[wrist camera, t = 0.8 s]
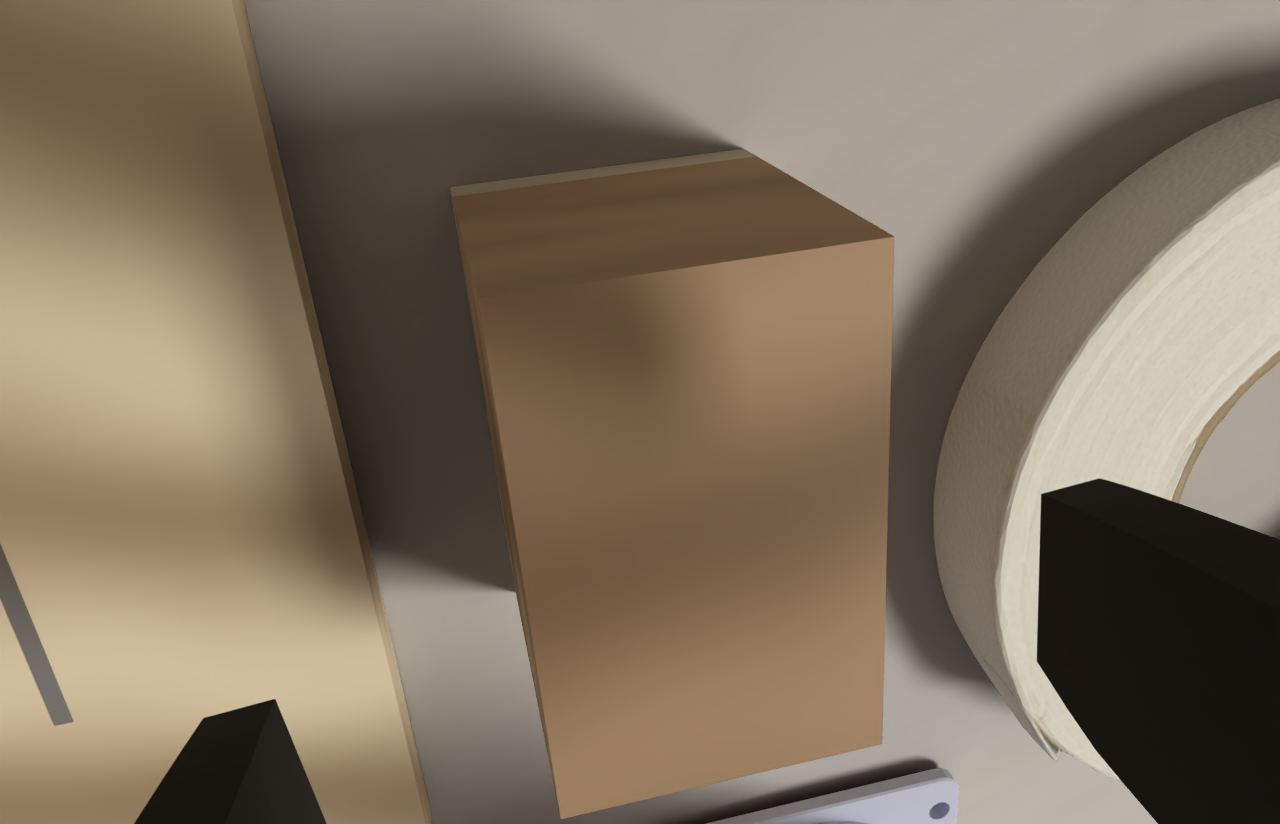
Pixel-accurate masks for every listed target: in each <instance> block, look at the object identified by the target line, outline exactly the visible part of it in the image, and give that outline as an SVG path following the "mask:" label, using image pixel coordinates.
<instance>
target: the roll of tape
mask: <svg viewBox="0 0 1280 824" xmlns="http://www.w3.org/2000/svg"><path fill="white" fill-rule="evenodd" d="M1279 361H1280V98H1279V99H1275V100H1272V101H1269V102H1266V103H1263V104H1260V105H1257V106H1254V107H1252V108H1249V109H1246V110H1244V111H1241V112H1239V113H1236V114H1234V115H1231V116H1229V117H1226V118H1224V119H1222V120H1220V121H1218V122H1216V123H1214V124H1212V125H1210V126H1208V127H1205V128H1203V129H1201V130H1199V131H1197V132H1195V133H1194V134H1192V135H1190V136H1189V137H1187V138H1185V139H1184V140H1182V141H1180V142H1178V143H1177V144H1175V145H1173V146H1172V147H1170V148H1168V149H1167V150H1165V151H1164V152H1162V153H1160V154H1159V155H1157V156H1156V157H1154V158H1153V159H1151V160H1150V161H1148V162H1147V163H1146V164H1144V165H1143V166H1141V167H1140V168H1139V169H1137V170H1136V171H1135V172H1133V173H1132V174H1130V175H1129V176H1128V177H1127V178H1125V179H1124V180H1123V181H1122V182H1121V183H1119V184H1118V185H1117V186H1116V187H1114V188H1113V189H1112V190H1111V191H1109V192H1108V193H1107V194H1106V195H1105V196H1103V197H1102V198H1101V199H1100V200H1099V201H1098V202H1097V203H1096V204H1095V205H1093V206H1092V207H1091V208H1090V209H1089V210H1088V211H1087V212H1086V213H1085V214H1083V215H1082V216H1081V217H1080V218H1079V219H1078V220H1077V222H1076V223H1075V224H1074V225H1073V226H1072V227H1071V228H1070V229H1069V230H1068V231H1067V232H1066V233H1065V234H1064V235H1063V236H1062V237H1061V238H1060V239H1059V241H1058V242H1057V243H1056V244H1055V245H1054V246H1053V247H1052V248H1051V249H1050V251H1049V252H1048V253H1047V254H1046V255H1045V256H1044V257H1043V258H1042V259H1041V260H1040V262H1039V263H1038V264H1037V265H1036V267H1035V268H1034V269H1033V270H1032V272H1031V273H1030V274H1029V276H1028V277H1027V278H1026V280H1025V281H1024V282H1023V283H1022V285H1021V286H1020V288H1019V289H1018V290H1017V292H1016V293H1015V294H1014V296H1013V297H1012V299H1011V300H1010V301H1009V303H1008V304H1007V305H1006V307H1005V308H1004V310H1003V311H1002V313H1001V314H1000V316H999V318H998V319H997V321H996V322H995V324H994V325H993V327H992V329H991V330H990V332H989V334H988V336H987V337H986V339H985V341H984V343H983V344H982V346H981V348H980V350H979V351H978V353H977V355H976V357H975V359H974V361H973V363H972V365H971V367H970V370H969V372H968V374H967V376H966V378H965V380H964V382H963V384H962V387H961V389H960V391H959V394H958V396H957V399H956V402H955V404H954V407H953V410H952V412H951V415H950V418H949V421H948V425H947V428H946V432H945V435H944V439H943V444H942V448H941V453H940V458H939V463H938V468H937V475H936V483H935V491H934V517H933V522H934V543H935V552H936V559H937V565H938V570H939V575H940V579H941V583H942V587H943V591H944V595H945V598H946V600H947V603H948V606H949V608H950V611H951V613H952V615H953V618H954V620H955V622H956V624H957V626H958V628H959V630H960V631H961V633H962V635H963V637H964V639H965V640H966V642H967V644H968V646H969V647H970V649H971V651H972V652H973V654H974V656H975V657H976V659H977V660H978V662H979V664H980V665H981V667H982V668H983V670H984V671H985V672H986V674H987V675H988V677H989V678H990V680H991V681H992V683H993V684H994V686H995V687H996V689H997V690H998V692H999V693H1000V694H1001V696H1002V697H1003V699H1004V700H1005V702H1006V703H1007V705H1008V706H1009V708H1010V709H1011V711H1012V712H1013V714H1014V715H1015V716H1016V718H1017V719H1018V721H1019V722H1020V724H1021V725H1022V727H1023V728H1024V729H1025V730H1026V731H1027V732H1028V733H1029V734H1030V735H1031V737H1032V738H1033V739H1034V740H1035V741H1036V742H1037V743H1038V744H1039V745H1040V746H1041V748H1042V749H1043V750H1044V751H1045V752H1046V753H1047V754H1048V755H1049V756H1050V757H1051V758H1052V759H1053V760H1058V759H1059V753H1058V749H1060V750H1061V752H1065V753H1068V754H1070V755H1072V756H1073V757H1075V758H1076V759H1078V760H1080V761H1081V762H1083V763H1085V764H1087V765H1089V766H1090V767H1092V768H1093V769H1095V770H1096V771H1098V772H1100V773H1103V774H1105V775H1108V776H1110V777H1112V778H1115V779H1118V780H1120V779H1119V777H1118V776H1117V775H1116V774H1115V773H1114V772H1113V770H1112V769H1111V768H1110V767H1109V766H1108V764H1107V763H1106V762H1105V761H1104V760H1103V758H1102V757H1101V756H1100V755H1099V754H1098V752H1097V751H1096V750H1095V748H1094V747H1093V746H1092V744H1091V743H1090V741H1089V740H1088V738H1087V737H1086V735H1085V734H1084V732H1083V731H1082V730H1081V728H1080V727H1079V725H1078V724H1077V722H1076V721H1075V719H1074V718H1073V717H1072V715H1071V714H1070V712H1069V711H1068V709H1067V708H1066V706H1065V705H1064V703H1063V701H1062V700H1061V698H1060V697H1059V695H1058V694H1057V692H1056V691H1055V689H1054V687H1053V686H1052V684H1051V683H1050V681H1049V680H1048V678H1047V676H1046V675H1045V673H1044V672H1043V670H1042V669H1041V667H1040V666H1039V664H1038V662H1037V628H1038V591H1039V554H1040V516H1041V494H1043V493H1046V492H1050V491H1054V490H1057V489H1061V488H1065V487H1069V486H1072V485H1076V484H1080V483H1084V482H1087V481H1091V480H1095V479H1099V478H1100V479H1104V480H1108V481H1111V482H1115V483H1118V484H1122V485H1125V486H1128V487H1131V488H1134V489H1138V490H1141V491H1144V492H1147V493H1150V494H1153V495H1156V496H1159V497H1162V498H1164V499H1167V500H1170V501H1173V502H1176V503H1179V501H1180V497H1181V494H1182V492H1183V489H1184V486H1185V483H1186V481H1187V479H1188V477H1189V474H1190V472H1191V470H1192V468H1193V465H1194V463H1195V461H1196V460H1197V458H1198V456H1199V454H1200V452H1201V450H1202V448H1203V447H1204V445H1205V444H1206V442H1207V440H1208V439H1209V437H1210V436H1211V434H1212V433H1213V431H1214V430H1215V428H1216V427H1217V425H1218V424H1219V423H1220V422H1221V421H1222V420H1223V419H1224V417H1225V416H1226V415H1227V413H1228V412H1229V411H1230V410H1231V408H1232V407H1233V406H1234V405H1235V404H1236V402H1237V401H1238V400H1239V399H1240V397H1241V396H1242V395H1243V394H1244V393H1245V392H1246V391H1247V390H1248V389H1249V388H1250V387H1251V386H1252V385H1253V384H1254V383H1255V382H1256V381H1257V380H1258V379H1259V378H1261V377H1262V376H1263V375H1264V374H1265V373H1266V372H1268V371H1269V370H1270V369H1271V368H1273V367H1274V366H1275V365H1276V364H1277V363H1278V362H1279ZM1120 781H1121V780H1120Z"/></svg>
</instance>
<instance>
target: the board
mask: <svg viewBox="0 0 1280 824" xmlns="http://www.w3.org/2000/svg"><path fill="white" fill-rule="evenodd" d="M273 699H276V702H277V704H278V707H279V709H280V712H281V714H282V716H283V719H284V721H285V724H286V726H287V729H288V731H289V733H290V736H291V738H292V741H293V743H294V746H295V748H296V750H297V753H298V755H299V758H300V760H301V763H302V765H303V767H304V770H305V772H306V775H307V777H308V779H309V782H310V784H311V787H312V789H313V792H314V794H315V796H316V799H317V801H318V804H319V806H320V809H321V811H322V813H323V816H324V818H325V821H326V823H327V824H432V822H431V808H430V804H429V800H428V796H427V791H426V787H425V783H424V778H423V774H422V770H421V765H420V761H419V757H418V752H417V748H416V744H415V739H414V735H413V731H412V726H411V722H410V718H409V713H408V709H407V705H406V700H405V696H404V692H403V687H402V683H401V679H400V675H399V670H398V666H397V662H396V657H395V653H394V649H393V644H392V640H391V636H390V631H389V627H388V623H387V618H386V614H385V610H384V605H383V601H382V597H381V592H380V588H379V584H378V579H377V575H376V571H375V566H374V562H373V558H372V554H371V549H370V545H369V541H368V536H367V532H366V528H365V523H364V519H363V515H362V510H361V506H360V502H359V497H358V493H357V489H356V484H355V480H354V476H353V471H352V467H351V463H350V458H349V454H348V450H347V445H346V441H345V437H344V433H343V428H342V424H341V420H340V415H339V411H338V407H337V402H336V398H335V394H334V389H333V385H332V381H331V376H330V372H329V368H328V363H327V359H326V355H325V350H324V346H323V342H322V337H321V333H320V329H319V324H318V320H317V316H316V312H315V307H314V303H313V299H312V294H311V290H310V286H309V281H308V277H307V273H306V268H305V264H304V260H303V255H302V251H301V247H300V242H299V238H298V234H297V229H296V225H295V221H294V216H293V212H292V208H291V203H290V199H289V195H288V191H287V186H286V182H285V178H284V173H283V169H282V165H281V160H280V156H279V152H278V147H277V143H276V139H275V134H274V130H273V126H272V121H271V117H270V113H269V108H268V104H267V100H266V95H265V91H264V87H263V82H262V78H261V74H260V70H259V65H258V61H257V57H256V52H255V48H254V44H253V39H252V35H251V31H250V26H249V22H248V18H247V13H246V9H245V5H244V0H0V824H134V823H135V821H136V820H137V818H138V816H139V815H140V813H141V812H142V810H143V809H144V807H145V806H146V804H147V803H148V801H149V799H150V798H151V796H152V795H153V793H154V792H155V790H156V789H157V787H158V786H159V784H160V782H161V781H162V779H163V778H164V776H165V775H166V773H167V772H168V770H169V769H170V767H171V766H172V764H173V763H174V761H175V759H176V758H177V756H178V755H179V753H180V752H181V750H182V749H183V747H184V746H185V744H186V743H187V742H188V740H189V739H190V737H191V736H192V734H193V733H194V731H195V730H196V728H197V727H198V725H199V724H200V722H201V721H202V719H203V718H205V717H209V716H213V715H217V714H220V713H224V712H228V711H231V710H235V709H239V708H243V707H246V706H250V705H254V704H258V703H261V702H265V701H269V700H273Z"/></svg>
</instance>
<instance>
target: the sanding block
mask: <svg viewBox="0 0 1280 824" xmlns="http://www.w3.org/2000/svg"><path fill="white" fill-rule="evenodd" d="M450 192H451V198H452V205H453V211H454V217H455V223H456V229H457V235H458V241H459V247H460V254H461V260H462V266H463V272H464V278H465V284H466V290H467V297H468V303H469V309H470V315H471V321H472V327H473V333H474V339H475V346H476V352H477V358H478V364H479V370H480V376H481V382H482V388H483V395H484V401H485V407H486V413H487V419H488V425H489V431H490V437H491V444H492V450H493V456H494V462H495V468H496V474H497V480H498V486H499V493H500V499H501V505H502V511H503V517H504V523H505V529H506V536H507V542H508V548H509V554H510V560H511V566H512V572H513V578H514V585H515V591H516V596H517V601H518V606H519V611H520V616H521V621H522V626H523V631H524V636H525V641H526V646H527V651H528V656H529V661H530V666H531V671H532V677H533V682H534V687H535V692H536V697H537V702H538V707H539V712H540V717H541V722H542V727H543V732H544V737H545V742H546V747H547V752H548V757H549V762H550V767H551V772H552V777H553V782H554V787H555V792H556V797H557V802H558V807H559V812H560V817H561V819H565V818H569V817H573V816H577V815H582V814H586V813H590V812H594V811H599V810H603V809H607V808H611V807H616V806H620V805H624V804H628V803H633V802H637V801H641V800H646V799H650V798H654V797H658V796H663V795H667V794H671V793H675V792H680V791H684V790H688V789H692V788H697V787H701V786H705V785H709V784H714V783H718V782H722V781H726V780H731V779H735V778H739V777H743V776H748V775H752V774H756V773H760V772H765V771H769V770H773V769H778V768H782V767H786V766H790V765H795V764H799V763H803V762H807V761H812V760H816V759H820V758H824V757H829V756H833V755H837V754H841V753H846V752H850V751H854V750H858V749H863V748H867V747H871V746H875V745H880V744H882V730H883V689H884V648H885V606H886V565H887V524H888V483H889V441H890V400H891V359H892V318H893V276H894V236H892V235H891V234H889V233H887V232H886V231H884V230H882V229H880V228H879V227H877V226H875V225H874V224H872V223H870V222H868V221H867V220H865V219H863V218H862V217H860V216H858V215H856V214H855V213H853V212H851V211H850V210H848V209H846V208H844V207H843V206H841V205H839V204H838V203H836V202H834V201H832V200H831V199H829V198H827V197H826V196H824V195H822V194H820V193H819V192H817V191H815V190H814V189H812V188H810V187H808V186H807V185H805V184H803V183H802V182H800V181H798V180H796V179H795V178H793V177H791V176H790V175H788V174H786V173H784V172H783V171H781V170H779V169H778V168H776V167H774V166H772V165H771V164H769V163H767V162H766V161H764V160H762V159H760V158H759V157H757V156H755V155H754V154H752V153H750V152H748V151H747V150H745V149H736V150H729V151H721V152H713V153H706V154H698V155H691V156H683V157H675V158H668V159H660V160H652V161H645V162H637V163H630V164H622V165H614V166H607V167H599V168H592V169H584V170H576V171H569V172H561V173H553V174H546V175H538V176H531V177H523V178H515V179H508V180H500V181H493V182H485V183H477V184H470V185H462V186H454V187H450Z"/></svg>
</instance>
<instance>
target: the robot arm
mask: <svg viewBox="0 0 1280 824" xmlns="http://www.w3.org/2000/svg"><path fill="white" fill-rule="evenodd" d="M1037 662H1038V664H1039V666H1040V667H1041V669H1042V670H1043V672H1044V673H1045V675H1046V676H1047V678H1048V680H1049V681H1050V683H1051V684H1052V686H1053V687H1054V689H1055V691H1056V692H1057V694H1058V695H1059V697H1060V698H1061V700H1062V701H1063V703H1064V705H1065V706H1066V708H1067V709H1068V711H1069V712H1070V714H1071V715H1072V717H1073V718H1074V719H1075V721H1076V722H1077V724H1078V725H1079V727H1080V728H1081V730H1082V731H1083V732H1084V734H1085V735H1086V737H1087V738H1088V740H1089V741H1090V743H1091V744H1092V746H1093V747H1094V748H1095V750H1096V751H1097V752H1098V754H1099V755H1100V756H1101V757H1102V758H1103V760H1104V761H1105V762H1106V763H1107V764H1108V766H1109V767H1110V768H1111V769H1112V770H1113V772H1114V773H1115V774H1116V775H1117V776H1118V777H1119V779H1120V780H1121V781H1122V782H1123V783H1124V784H1125V786H1126V787H1127V788H1128V789H1129V790H1130V791H1131V793H1132V794H1133V795H1134V796H1135V797H1136V798H1137V800H1138V801H1139V802H1140V803H1141V804H1142V805H1143V807H1144V808H1145V809H1146V810H1147V811H1148V812H1149V814H1150V815H1151V816H1152V817H1153V818H1154V819H1155V821H1156V822H1157V823H1158V824H1280V540H1279V539H1276V538H1273V537H1270V536H1268V535H1265V534H1262V533H1259V532H1257V531H1254V530H1251V529H1248V528H1246V527H1243V526H1240V525H1237V524H1234V523H1232V522H1229V521H1226V520H1223V519H1221V518H1218V517H1215V516H1212V515H1210V514H1207V513H1204V512H1201V511H1198V510H1196V509H1193V508H1190V507H1187V506H1184V505H1182V504H1179V503H1176V502H1173V501H1170V500H1167V499H1164V498H1162V497H1159V496H1156V495H1153V494H1150V493H1147V492H1144V491H1141V490H1138V489H1134V488H1131V487H1128V486H1125V485H1122V484H1118V483H1115V482H1111V481H1108V480H1104V479H1100V478H1099V479H1095V480H1091V481H1087V482H1084V483H1080V484H1076V485H1072V486H1069V487H1065V488H1061V489H1057V490H1054V491H1050V492H1046V493H1043V494H1041V516H1040V554H1039V591H1038V628H1037ZM958 794H959V787H958V783H957V782H956V780H955V779H954V777H953V776H952V774H951V773H950V772H949V771H948V770H945V769H942V768H939V769H931V770H927V771H923V772H918V773H914V774H910V775H906V776H902V777H898V778H893V779H889V780H885V781H881V782H877V783H873V784H868V785H864V786H860V787H856V788H852V789H848V790H844V791H839V792H835V793H831V794H827V795H823V796H819V797H814V798H810V799H806V800H802V801H798V802H794V803H789V804H785V805H781V806H777V807H773V808H769V809H764V810H760V811H756V812H752V813H748V814H744V815H739V816H735V817H731V818H727V819H723V820H719V821H715V822H710V823H706V824H957V809H958ZM134 824H327V823H326V821H325V818H324V816H323V813H322V811H321V809H320V806H319V804H318V801H317V799H316V796H315V794H314V792H313V789H312V787H311V784H310V782H309V779H308V777H307V775H306V772H305V770H304V767H303V765H302V763H301V760H300V758H299V755H298V753H297V750H296V748H295V746H294V743H293V741H292V738H291V736H290V733H289V731H288V729H287V726H286V724H285V721H284V719H283V716H282V714H281V712H280V709H279V707H278V704H277V702H276V699H273V700H269V701H265V702H261V703H258V704H254V705H250V706H246V707H243V708H239V709H235V710H231V711H228V712H224V713H220V714H217V715H213V716H209V717H205V718H203V719H202V721H201V722H200V724H199V725H198V727H197V728H196V730H195V731H194V733H193V734H192V736H191V737H190V739H189V740H188V742H187V743H186V744H185V746H184V747H183V749H182V750H181V752H180V753H179V755H178V756H177V758H176V759H175V761H174V763H173V764H172V766H171V767H170V769H169V770H168V772H167V773H166V775H165V776H164V778H163V779H162V781H161V782H160V784H159V786H158V787H157V789H156V790H155V792H154V793H153V795H152V796H151V798H150V799H149V801H148V803H147V804H146V806H145V807H144V809H143V810H142V812H141V813H140V815H139V816H138V818H137V820H136V821H135V823H134Z"/></svg>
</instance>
